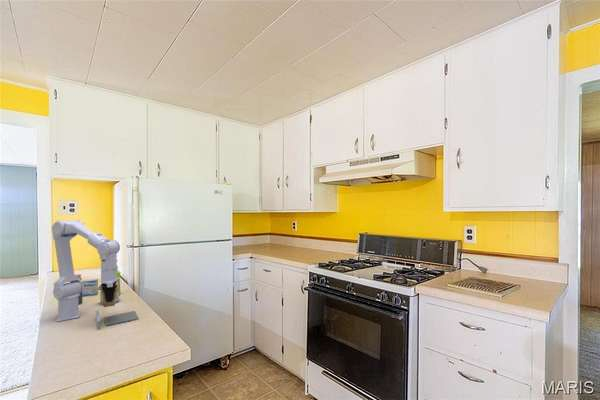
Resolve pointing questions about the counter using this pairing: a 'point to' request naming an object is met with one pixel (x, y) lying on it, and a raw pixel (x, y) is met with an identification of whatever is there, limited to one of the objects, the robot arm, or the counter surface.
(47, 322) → the counter surface
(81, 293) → the bottle
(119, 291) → the soap dispenser
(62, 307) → the robot arm
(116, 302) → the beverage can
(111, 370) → the counter surface
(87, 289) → the medicine box
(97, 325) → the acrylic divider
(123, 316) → the resting mat
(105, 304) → the walnut block
